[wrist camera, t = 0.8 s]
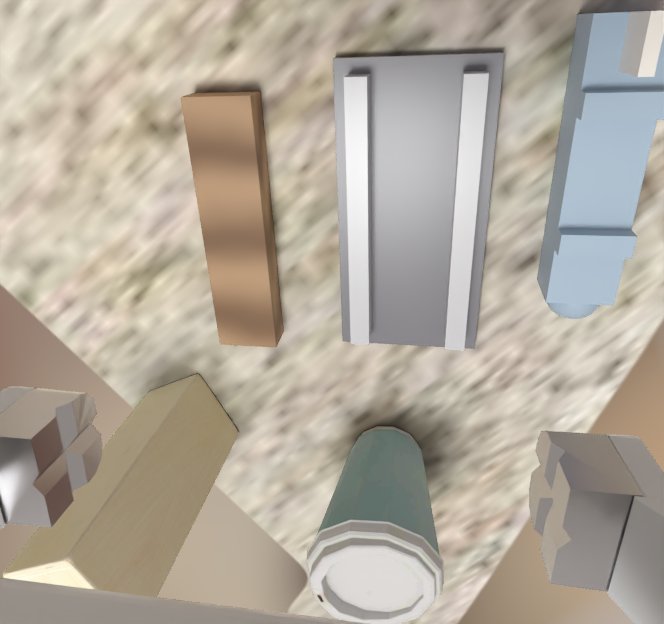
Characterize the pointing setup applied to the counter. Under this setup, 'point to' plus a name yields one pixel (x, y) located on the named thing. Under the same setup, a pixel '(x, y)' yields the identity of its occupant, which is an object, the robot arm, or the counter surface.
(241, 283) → the brown long rectangular bar
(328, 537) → the disposable coffee cup
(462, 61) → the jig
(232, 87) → the counter surface
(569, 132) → the pale blue tabbed body
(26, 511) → the robot arm
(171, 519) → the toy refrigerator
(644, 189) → the counter surface
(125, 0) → the counter surface
